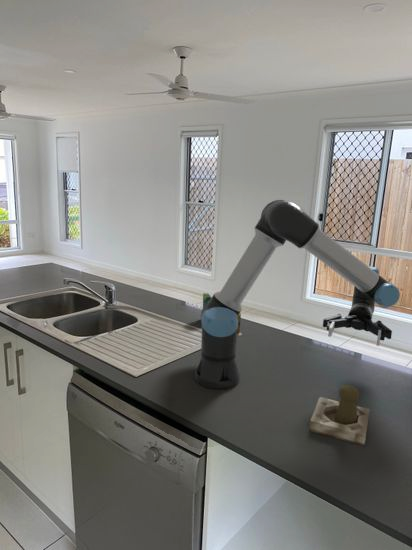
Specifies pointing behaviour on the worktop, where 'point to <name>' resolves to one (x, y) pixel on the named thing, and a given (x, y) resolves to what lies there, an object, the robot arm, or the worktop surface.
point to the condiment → (239, 325)
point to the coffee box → (206, 298)
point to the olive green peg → (347, 405)
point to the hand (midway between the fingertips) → (353, 336)
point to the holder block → (326, 425)
